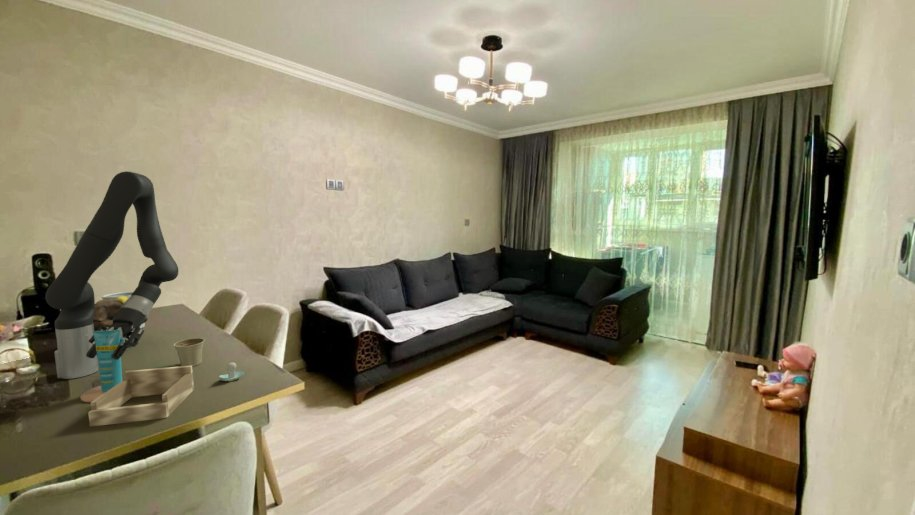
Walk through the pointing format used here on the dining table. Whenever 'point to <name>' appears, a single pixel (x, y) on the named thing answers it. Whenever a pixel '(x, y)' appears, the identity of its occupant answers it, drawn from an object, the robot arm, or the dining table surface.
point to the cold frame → (143, 383)
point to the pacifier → (231, 373)
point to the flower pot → (190, 351)
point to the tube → (108, 358)
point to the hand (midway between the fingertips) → (101, 358)
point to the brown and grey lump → (108, 312)
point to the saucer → (92, 394)
